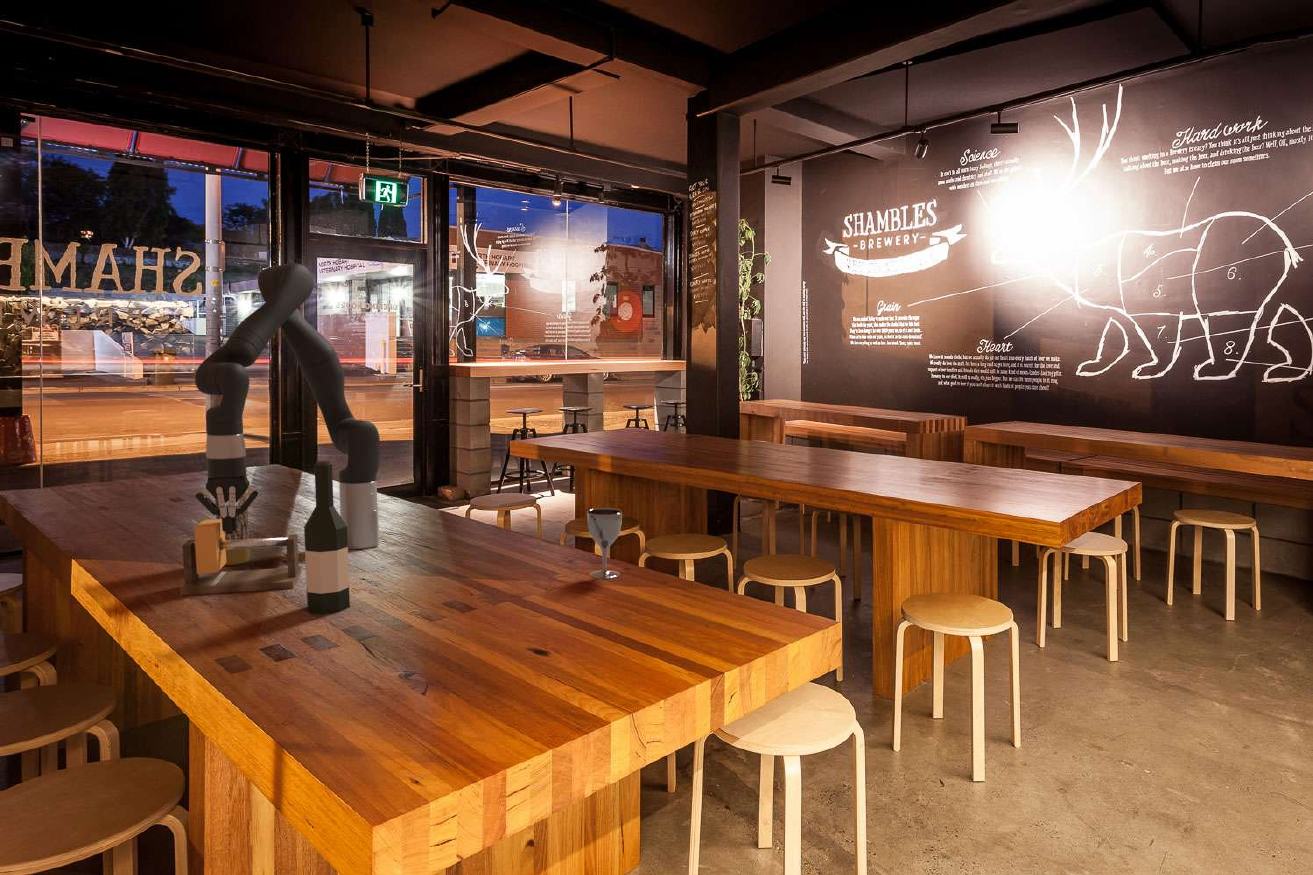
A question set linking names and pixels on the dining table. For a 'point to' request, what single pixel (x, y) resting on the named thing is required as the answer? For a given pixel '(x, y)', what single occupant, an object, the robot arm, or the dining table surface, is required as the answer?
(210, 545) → the collar
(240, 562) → the bark log section
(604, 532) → the wine glass
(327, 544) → the wine bottle
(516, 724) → the dining table surface
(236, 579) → the pipe stand
